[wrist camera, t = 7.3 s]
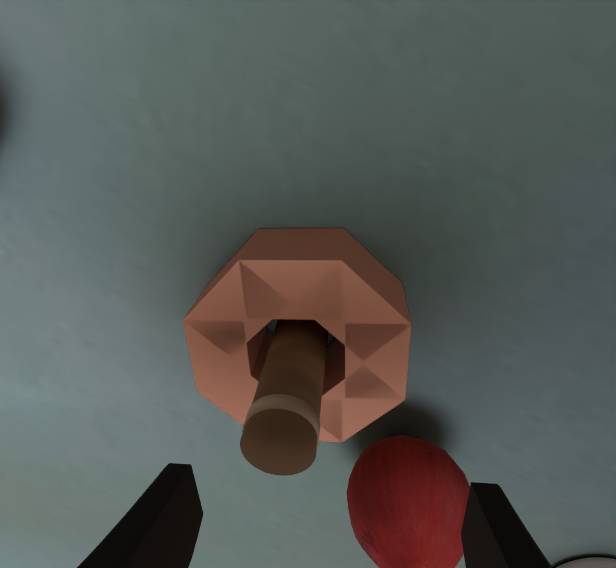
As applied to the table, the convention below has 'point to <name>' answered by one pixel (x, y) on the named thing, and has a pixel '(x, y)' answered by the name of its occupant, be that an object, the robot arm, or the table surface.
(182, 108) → the table surface
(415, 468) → the onion
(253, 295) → the orange octagonal ring
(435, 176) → the table surface
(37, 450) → the table surface
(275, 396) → the case
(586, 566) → the pill bottle
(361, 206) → the table surface
